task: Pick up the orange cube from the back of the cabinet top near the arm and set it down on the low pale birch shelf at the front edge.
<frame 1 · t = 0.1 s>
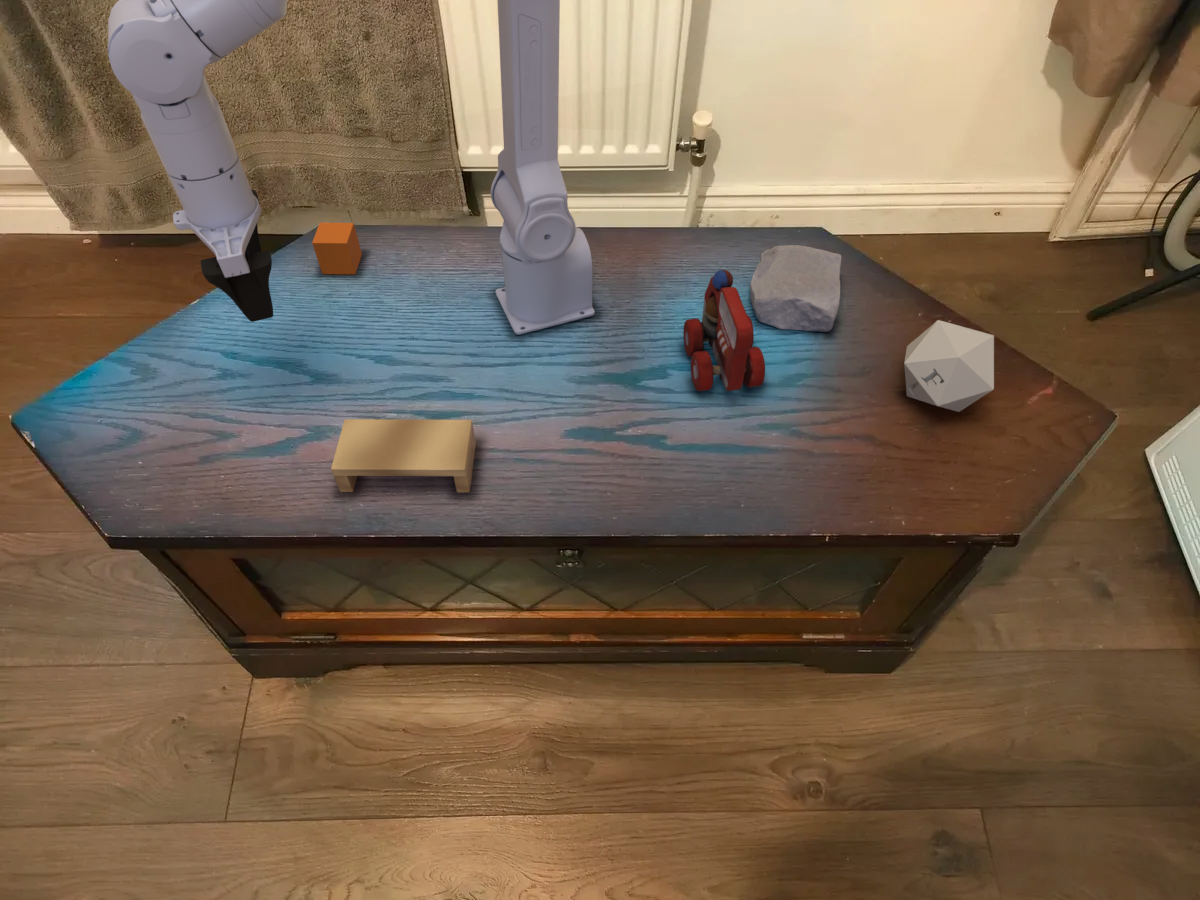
hand: (257, 292, 74), 10 cm above the tv stand, tool pointing down, fingers open, 7 cm apart
shelf: (410, 467, 74), on the tv stand
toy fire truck: (719, 366, 83), on the tv stand
orange cube: (342, 264, 93), on the tv stand
stone block: (790, 298, 91), on the tv stand
die: (934, 395, 81), on the tv stand
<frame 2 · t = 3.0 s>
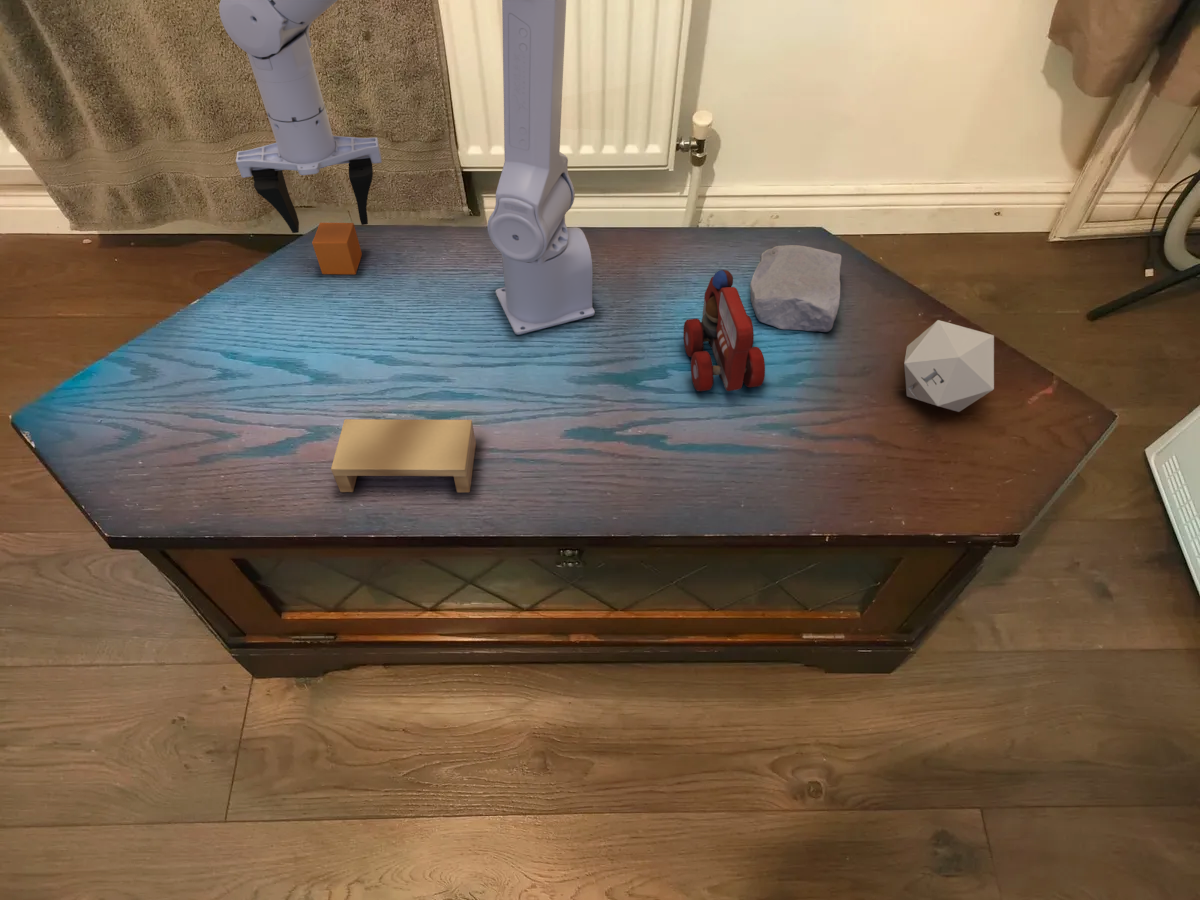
hand: (330, 223, 89), 6 cm above the tv stand, tool pointing down, fingers open, 7 cm apart
nothing on the tv stand moved.
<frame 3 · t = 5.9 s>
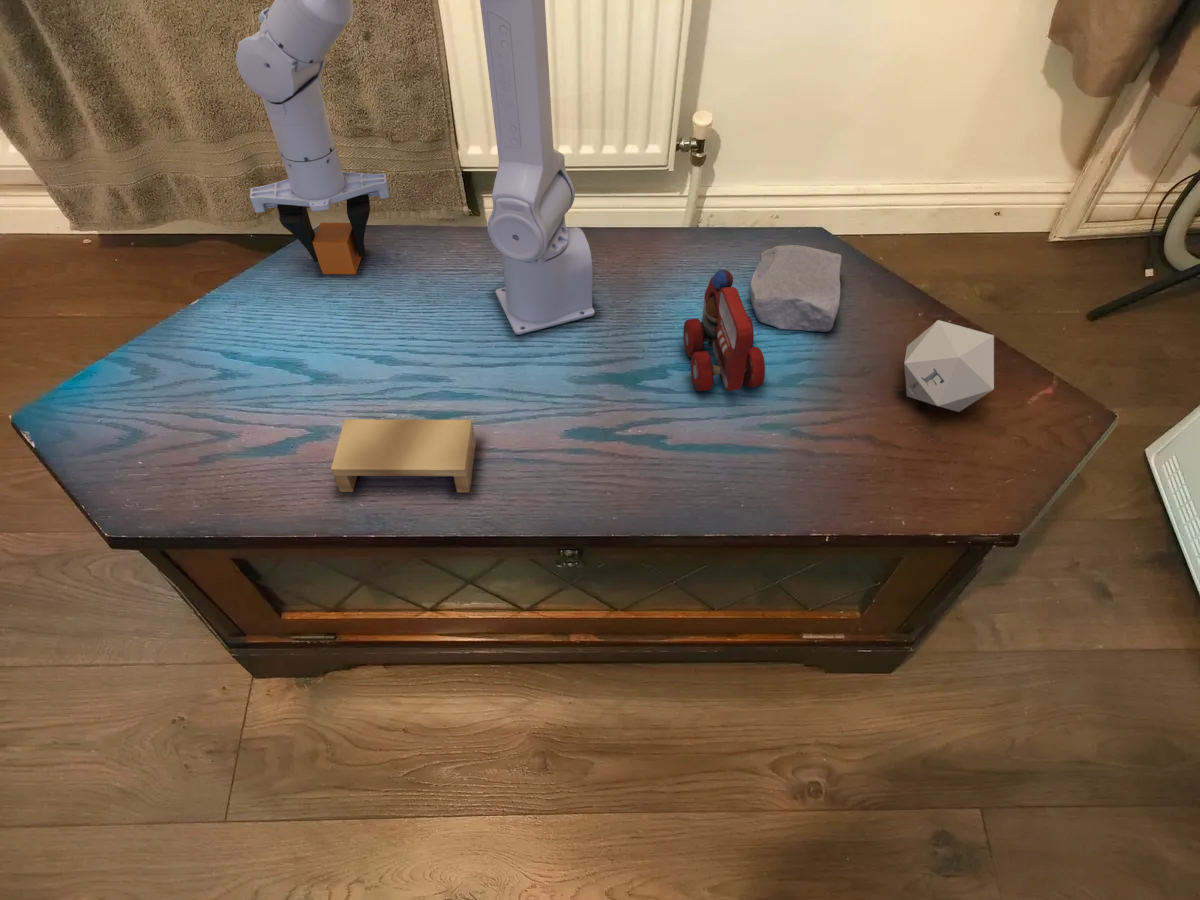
hand: (339, 254, 92), 1 cm above the tv stand, tool pointing down, fingers closed on orange cube, 4 cm apart
orange cube: (342, 264, 93), on the tv stand, touching gripper
everything else where it was.
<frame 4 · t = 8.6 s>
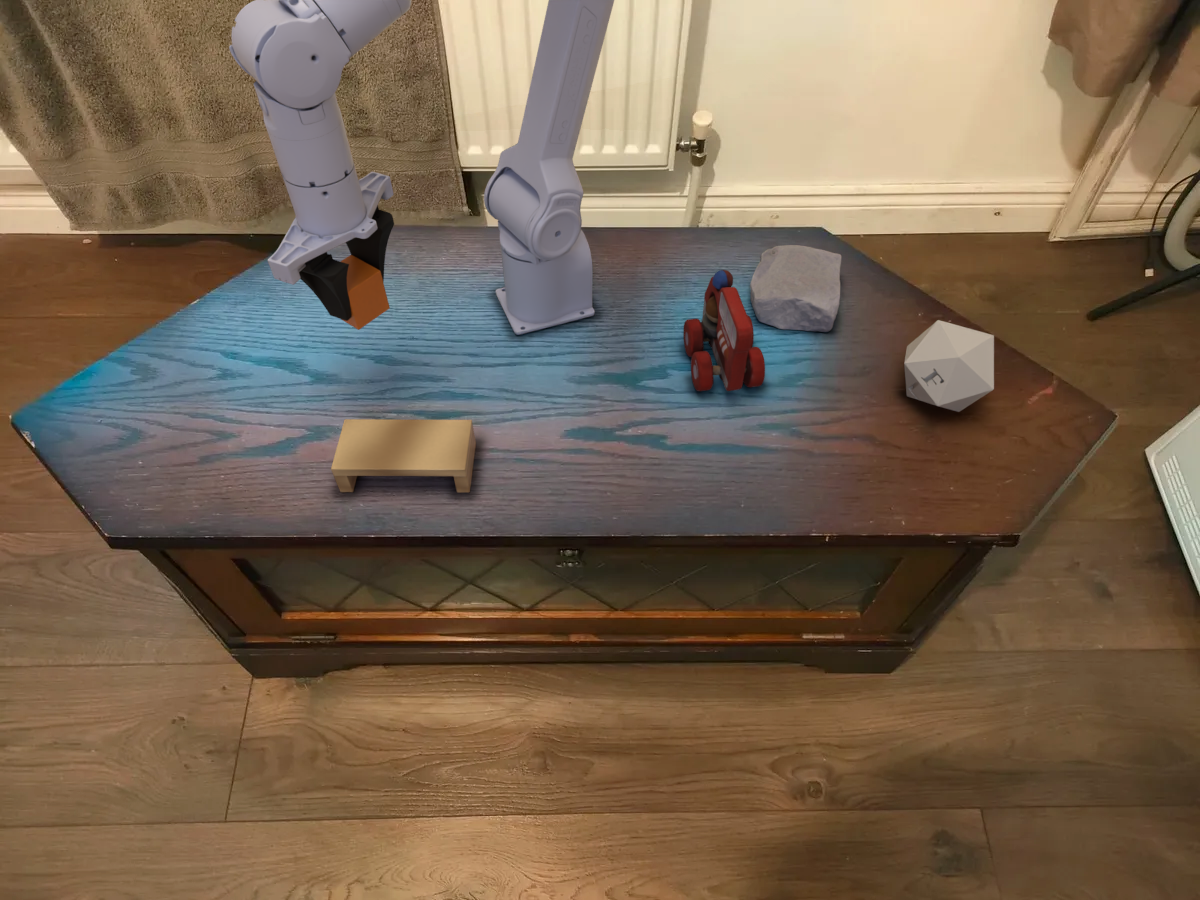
hand: (356, 299, 73), 10 cm above the tv stand, tool pointing down, fingers closed on orange cube, 4 cm apart
orange cube: (360, 310, 74), point 9 cm above the tv stand, touching gripper
everything else where it was.
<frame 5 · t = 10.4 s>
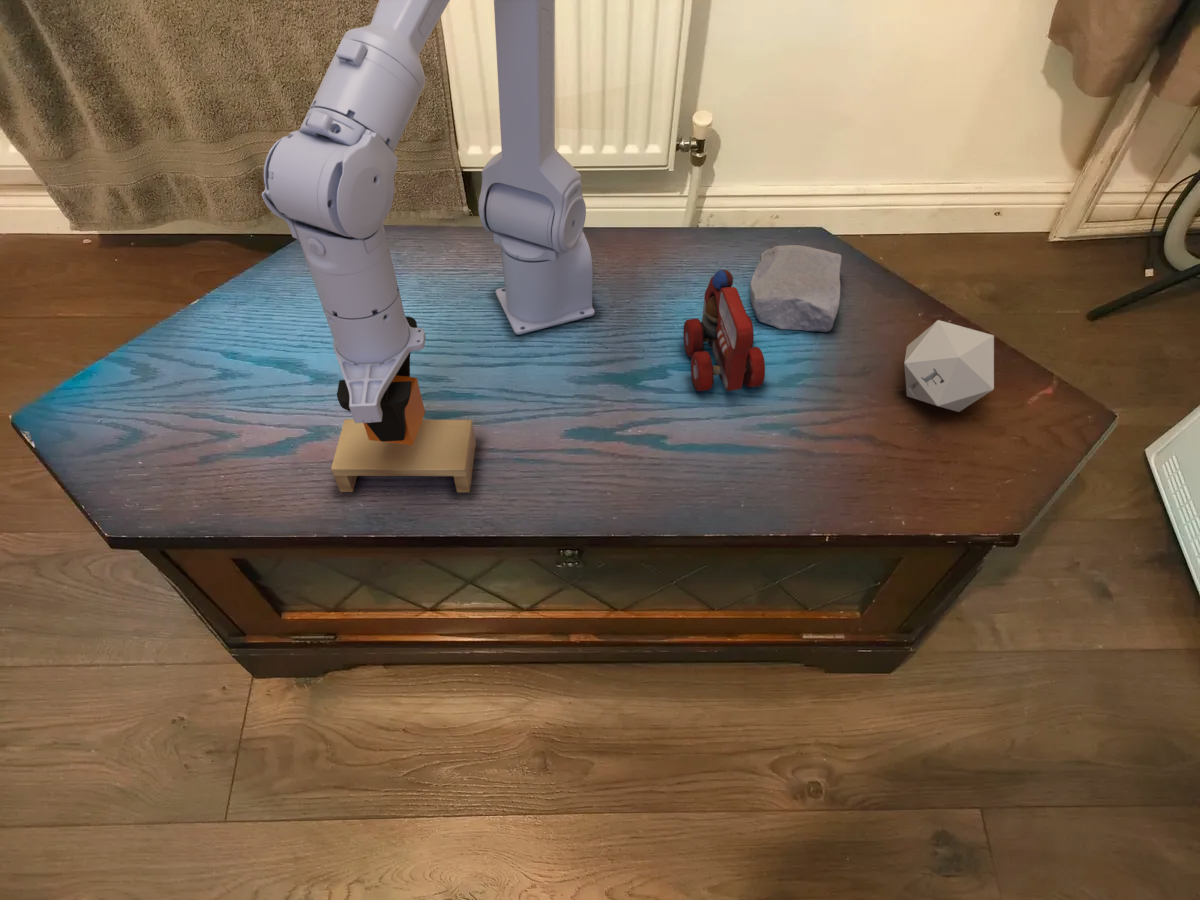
hand: (395, 416, 68), 7 cm above the tv stand, tool pointing down, fingers closed on orange cube, 4 cm apart
orange cube: (397, 426, 69), point 6 cm above the tv stand, touching gripper
everything else where it was.
when the fingers open (5 cm above the tv stand, at t = 11.6 s): orange cube stays where it is, resting on shelf.
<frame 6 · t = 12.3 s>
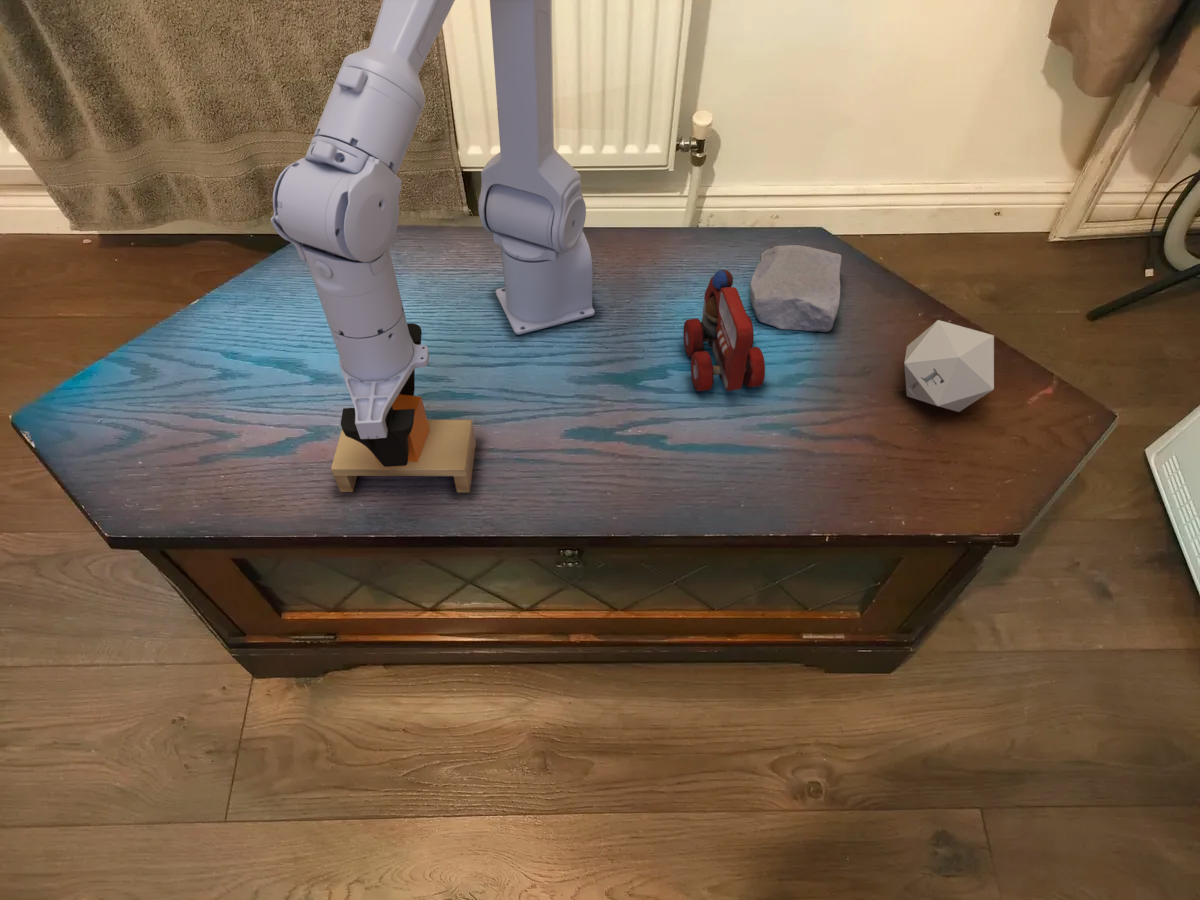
hand: (399, 429, 70), 5 cm above the tv stand, tool pointing down, fingers open, 7 cm apart
orange cube: (402, 443, 71), point 3 cm above the tv stand, touching shelf
everything else where it was.
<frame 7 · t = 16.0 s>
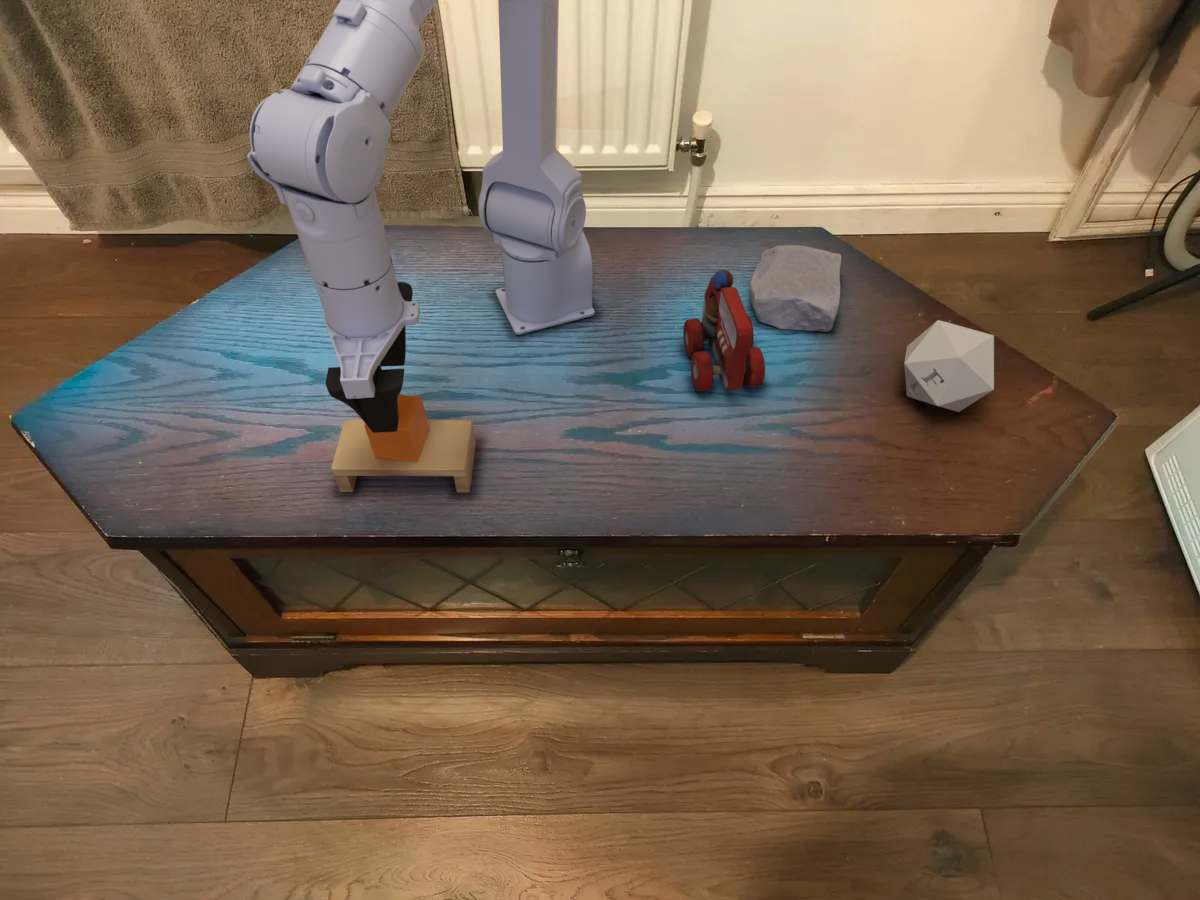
hand: (389, 395, 66), 10 cm above the tv stand, tool pointing down, fingers open, 7 cm apart
nothing on the tv stand moved.
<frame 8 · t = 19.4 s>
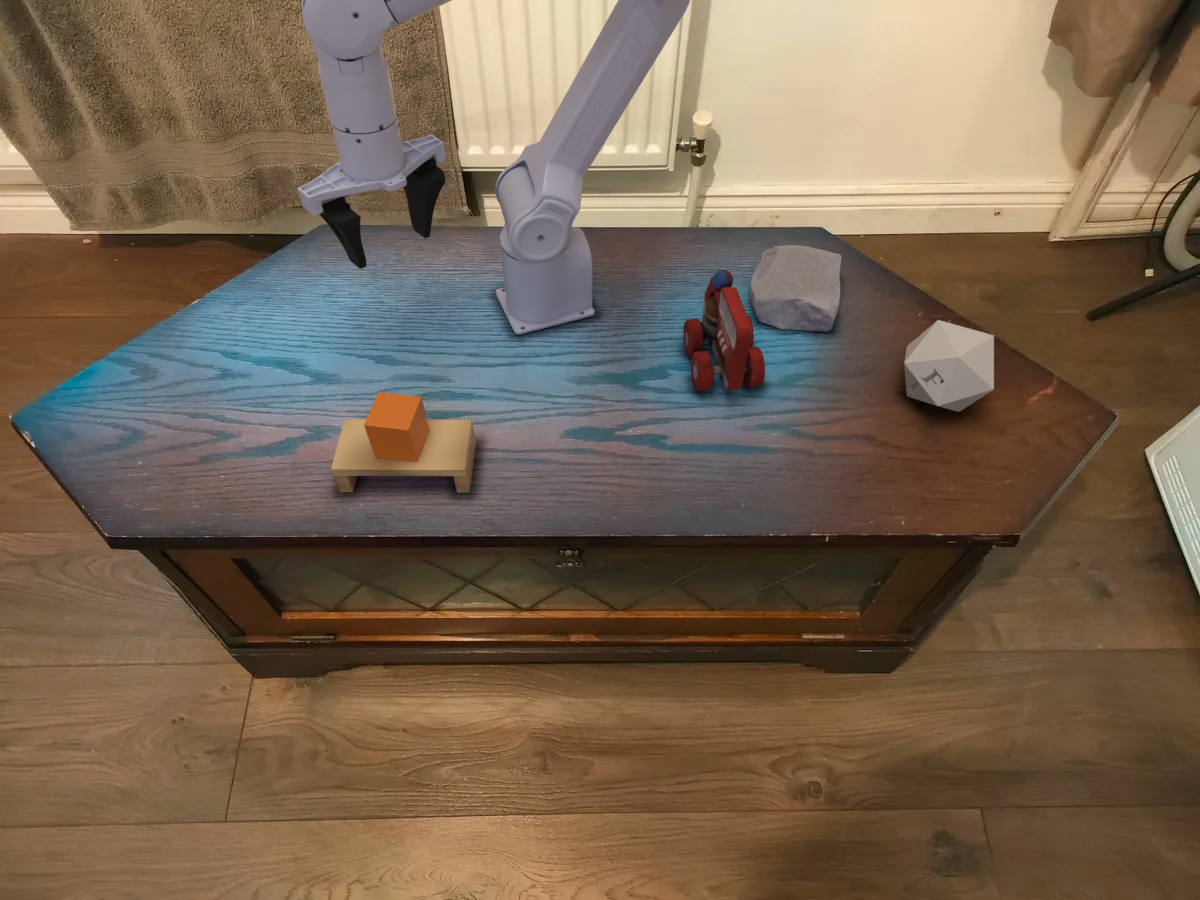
hand: (390, 247, 78), 10 cm above the tv stand, tool pointing down, fingers open, 7 cm apart
nothing on the tv stand moved.
at the end: orange cube inside the target area on the shelf (0.0 cm from its centre), point 3.5 cm above the shelf's base; orange cube tilted 0°; the gripper is holding nothing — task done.
